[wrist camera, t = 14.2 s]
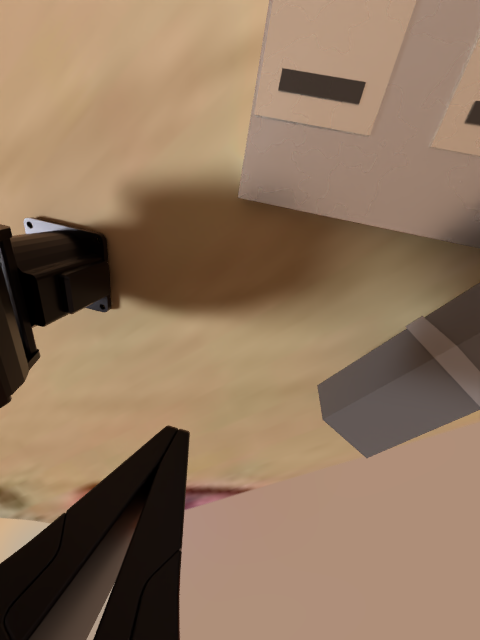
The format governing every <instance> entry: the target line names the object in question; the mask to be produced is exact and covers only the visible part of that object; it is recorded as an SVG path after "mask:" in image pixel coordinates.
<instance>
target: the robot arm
mask: <svg viewBox="0 0 480 640" xmlns="http://www.w3.org/2000/svg"><path fill="white" fill-rule="evenodd" d="M32 225H33V226H32ZM24 227H25V231H26V234H24V235H16V236H12V233H11V229H10V227H9V226H5V225H1V224H0V408H1V407H3V406H5V405H6V404H8V403H9V402H10V401H11V399H12V398H11V395H12V394H13V393H14V392H15V391H16V390H17V389H18V388H19V387H20V386H21V385H22V384H23V383H24V382H25V379H26V377H27V375H28V372H29V370H30V369H31V367H32V366H33V365H34V364H35V363H36V362H37V360H38V359H39V358H40V353H39V350H38V349H37V348H36V344H35V340H34V335H33V331H32V328H33V327H35V326H37V325H38V326H42V327H44V326H46V325H48V324H50V323H52V322H54V321H56V320H58V319H60V318H62V317H64V316H66V315H68V314H74V313H75V312H77V311H79V310H81V309H83V308H89V309H93V310H96V311H100V312H107V311H108V310H110V309H111V300H110V277H109V265H108V253H107V240H106V238H105V236H104V235H103V234H101V233H98V232H94V231H89V230H85V229H81V228H76V227H72V226H68V225H63V224H59V223H54V222H50V221H46V220H41V219H37V218H25V219H24ZM97 238H99V239H100V243H99V242H98V239H97ZM103 305H104V306H105V307H104V306H103ZM189 437H190V432H189V431H186V430H183V429H179V430H178V428H176V427H172V426H166V427H165V428H163V429H162V430H161V431H160V432H159V433H158V434H156V435H155V436H154V437H153V438H152V439H150V440H149V441H148V442H147V443H146V444H145V445H143V446H142V447H141V448H140V449H139V450H138V451H136V452H135V453H134V454H133V455H132V456H130V457H129V458H128V459H127V460H126V461H125V462H123V463H122V464H121V465H120V466H119V467H118V468H116V469H115V470H114V471H113V472H112V473H110V474H109V475H108V476H107V477H106V478H105V479H103V480H102V481H101V482H100V483H99V484H98V485H96V486H95V487H94V488H93V489H92V490H90V491H89V492H88V493H87V494H86V495H85V496H83V497H82V498H81V499H80V500H79V501H77V502H76V503H75V504H74V505H73V506H72V507H70V508H69V509H68V510H67V512H66V513H63V514H62V515H61V516H60V517H58V518H57V519H56V520H55V521H54V522H53V523H51V524H50V525H49V526H48V527H47V528H46V529H44V530H43V531H42V532H41V533H39V534H38V535H37V536H36V537H34V538H33V539H32V540H31V541H29V542H28V543H27V544H26V545H24V546H23V547H22V548H21V549H19V550H18V551H17V552H15V553H14V554H13V555H11V556H10V557H9V558H7V559H6V560H5V561H3V562H2V563H1V564H0V640H86V639H87V637H88V635H89V633H90V631H91V629H92V627H93V625H94V623H95V621H96V619H97V617H98V615H99V613H100V611H101V609H102V607H103V605H104V603H105V601H106V599H107V597H108V595H109V593H110V591H111V589H112V587H113V589H112V592H111V594H110V597H109V600H108V602H107V605H106V608H105V611H104V613H103V616H102V618H101V621H100V624H99V626H98V629H97V631H96V634H95V637H94V639H93V640H180V631H179V591H180V589H179V588H180V568H181V554H182V552H181V549H182V537H183V523H184V509H185V494H186V480H187V465H188V451H189ZM114 583H115V584H114ZM113 585H114V586H113Z"/></svg>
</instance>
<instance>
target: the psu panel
mask: <svg viewBox="0 0 480 640" xmlns="http://www.w3.org/2000/svg"><path fill="white" fill-rule="evenodd" d="M238 198H242V199H246V200H251V201H256V202H261V203H265V204H270V205H275V206H280V207H285V208H289V209H294V210H299V211H304V212H309V213H313V214H318V215H323V216H328V217H332V218H337V219H342V220H347V221H352V222H356V223H361V224H366V225H371V226H375V227H380V228H385V229H390V230H395V231H399V232H404V233H409V234H414V235H419V236H423V237H428V238H433V239H438V240H442V241H447V242H452V243H457V244H462V245H466V246H471V247H476V248H480V0H269V6H268V12H267V18H266V25H265V31H264V37H263V43H262V50H261V56H260V62H259V68H258V74H257V81H256V87H255V93H254V99H253V106H252V112H251V118H250V124H249V131H248V137H247V143H246V149H245V156H244V162H243V168H242V174H241V180H240V187H239V193H238Z"/></svg>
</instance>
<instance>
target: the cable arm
mask: <svg viewBox="0 0 480 640" xmlns="http://www.w3.org/2000/svg"><path fill="white" fill-rule="evenodd" d="M405 327H406V328H407V329H406V330H404V331H402V332H401V333H399V334H398V335H396V336H394V337H393V338H391V339H390V340H388V341H387V342H385V343H383V344H382V345H380V346H379V347H377V348H376V349H374V350H372V351H371V352H369V353H368V354H366V355H364V356H363V357H361V358H360V359H358V360H357V361H355V362H353V363H352V364H350V365H349V366H347V367H345V368H344V369H342V370H341V371H339V372H338V373H336V374H334V375H333V376H331V377H330V378H328V379H327V380H325V381H323V382H322V383H320V384H319V385H317V386H318V393H319V399H320V405H321V412H322V418H323V420H324V421H325V422H326V423H327V424H328V425H330V426H331V427H332V428H333V429H334V430H335V431H336V432H337V433H339V434H340V435H341V436H342V437H343V438H344V439H345V440H347V441H348V442H349V443H350V444H351V445H352V446H353V447H355V448H356V449H357V450H358V451H359V452H360V453H361V454H362V455H364V456H365V457H366V458H368V457H371V456H373V455H375V454H378V453H380V452H382V451H385V450H387V449H389V448H392V447H394V446H396V445H399V444H401V443H403V442H406V441H408V440H410V439H413V438H415V437H417V436H420V435H422V434H424V433H427V432H429V431H431V430H434V429H436V428H438V427H441V426H443V425H445V424H448V423H450V422H452V421H455V420H457V419H459V418H462V417H464V416H466V415H469V414H471V413H473V412H476V411H478V410H480V283H478V284H477V285H475V286H473V287H472V288H470V289H469V290H467V291H466V292H464V293H462V294H461V295H459V296H458V297H456V298H454V299H453V300H451V301H450V302H448V303H447V304H445V305H443V306H442V307H440V308H439V309H437V310H436V311H434V312H432V313H431V314H429V315H428V316H426V317H423V316H421V317H420V318H418V319H416V320H415V321H413V322H412V323H410V324H409V325H407V326H405Z"/></svg>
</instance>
